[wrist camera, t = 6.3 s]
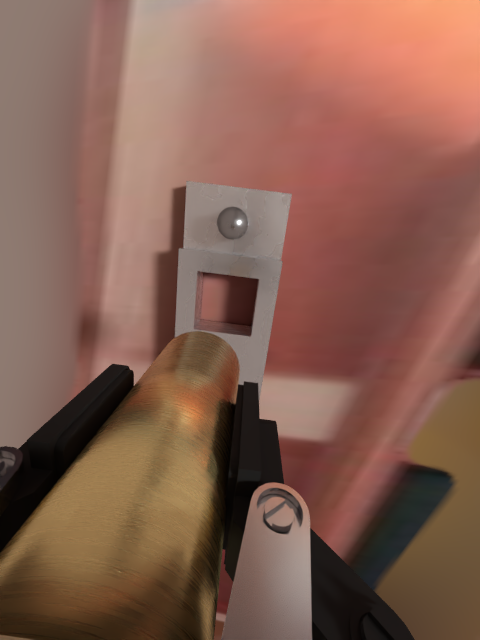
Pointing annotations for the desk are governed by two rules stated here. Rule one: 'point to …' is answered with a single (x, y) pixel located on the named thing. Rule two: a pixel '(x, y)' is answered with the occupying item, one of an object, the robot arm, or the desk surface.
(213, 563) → the brass pin
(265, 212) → the slotted link plate
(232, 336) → the upper chain link
